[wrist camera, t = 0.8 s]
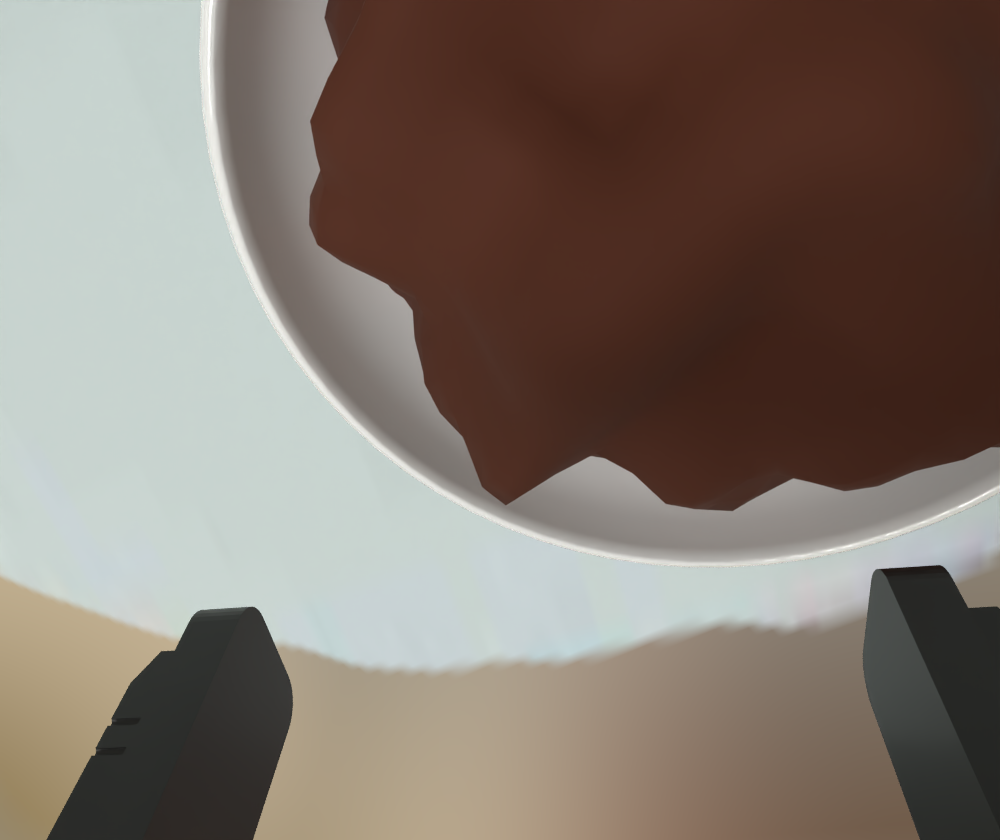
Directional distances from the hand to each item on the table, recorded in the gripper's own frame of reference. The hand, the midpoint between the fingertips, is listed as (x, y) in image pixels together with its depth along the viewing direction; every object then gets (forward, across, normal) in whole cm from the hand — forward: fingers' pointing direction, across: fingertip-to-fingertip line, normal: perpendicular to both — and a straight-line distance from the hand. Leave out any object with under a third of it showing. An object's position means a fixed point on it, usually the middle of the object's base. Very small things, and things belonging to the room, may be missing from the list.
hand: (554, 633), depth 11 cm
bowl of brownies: (+22, -4, -2) cm, 22 cm away
